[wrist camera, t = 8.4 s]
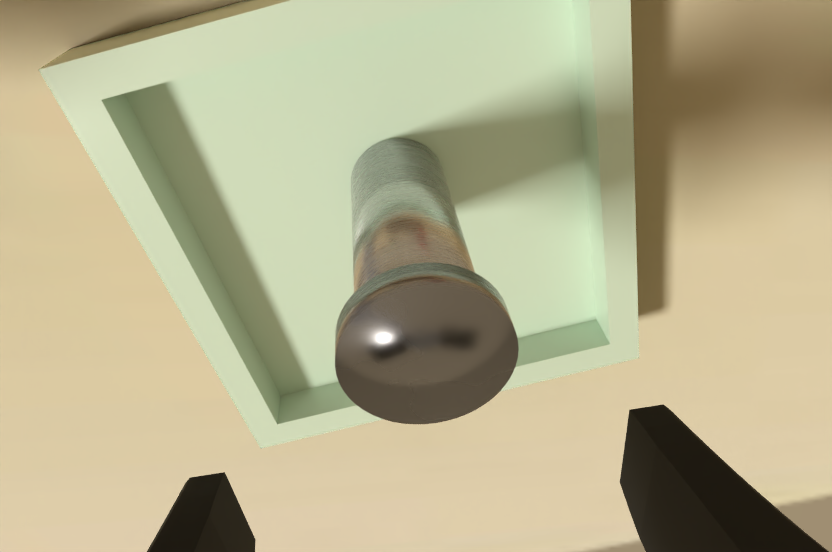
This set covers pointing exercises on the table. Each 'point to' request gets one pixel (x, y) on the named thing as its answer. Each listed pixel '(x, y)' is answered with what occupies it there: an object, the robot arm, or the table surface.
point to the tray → (335, 159)
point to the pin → (417, 297)
